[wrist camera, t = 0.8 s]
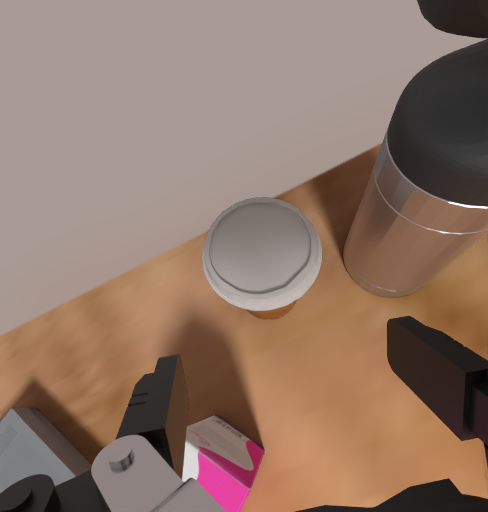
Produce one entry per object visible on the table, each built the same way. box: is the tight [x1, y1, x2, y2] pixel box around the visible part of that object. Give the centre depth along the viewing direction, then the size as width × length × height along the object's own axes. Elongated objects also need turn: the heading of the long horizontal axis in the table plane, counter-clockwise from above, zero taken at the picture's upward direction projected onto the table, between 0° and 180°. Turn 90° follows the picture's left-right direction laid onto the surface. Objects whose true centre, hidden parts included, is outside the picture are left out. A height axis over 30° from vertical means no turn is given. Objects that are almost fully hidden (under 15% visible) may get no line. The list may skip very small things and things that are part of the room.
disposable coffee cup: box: [202, 197, 322, 320], centre depth 29 cm, size 10×10×12 cm
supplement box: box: [182, 415, 264, 512], centre depth 23 cm, size 6×6×12 cm
